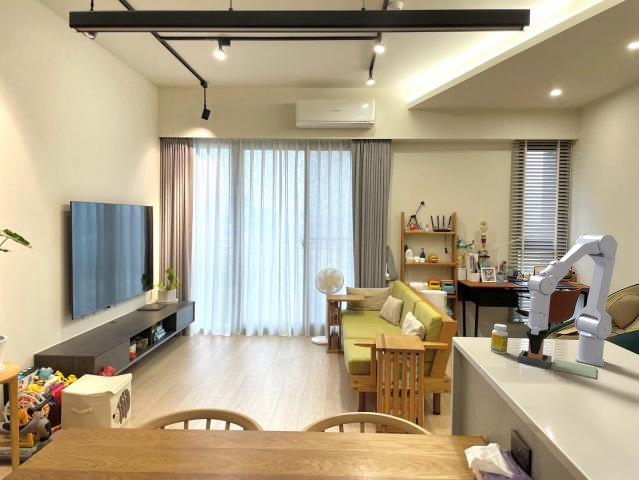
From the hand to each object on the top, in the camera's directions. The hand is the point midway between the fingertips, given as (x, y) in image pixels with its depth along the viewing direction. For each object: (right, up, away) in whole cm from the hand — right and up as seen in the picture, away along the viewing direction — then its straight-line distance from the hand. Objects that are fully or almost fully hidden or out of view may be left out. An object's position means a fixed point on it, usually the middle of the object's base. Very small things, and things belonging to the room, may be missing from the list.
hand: (535, 352), depth 134 cm
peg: (0, -3, 0) cm, 3 cm away
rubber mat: (+10, -4, -5) cm, 12 cm away
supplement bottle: (-8, -3, +9) cm, 13 cm away
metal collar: (0, -3, 0) cm, 3 cm away
